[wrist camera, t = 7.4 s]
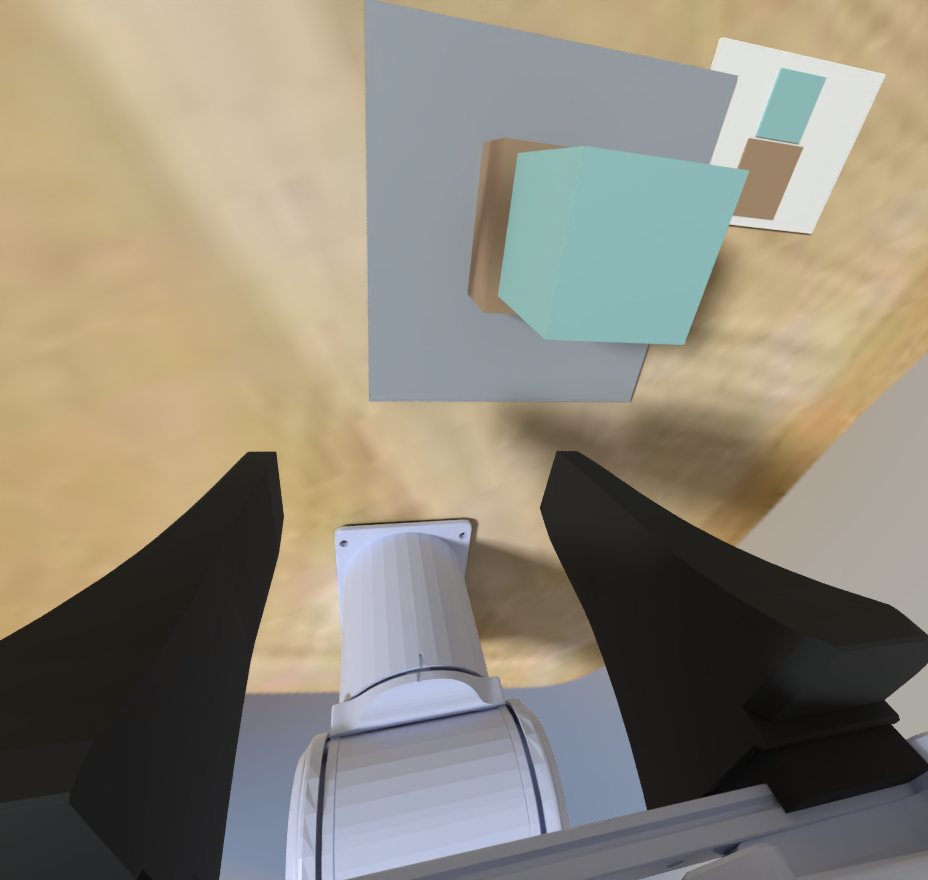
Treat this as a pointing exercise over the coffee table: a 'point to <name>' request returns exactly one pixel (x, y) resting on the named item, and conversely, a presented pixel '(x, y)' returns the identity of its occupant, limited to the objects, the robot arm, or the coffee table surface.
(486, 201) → the walnut brick
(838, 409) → the coffee table surface
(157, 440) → the coffee table surface
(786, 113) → the tile
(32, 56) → the coffee table surface
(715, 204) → the teal brick
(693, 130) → the build plate
